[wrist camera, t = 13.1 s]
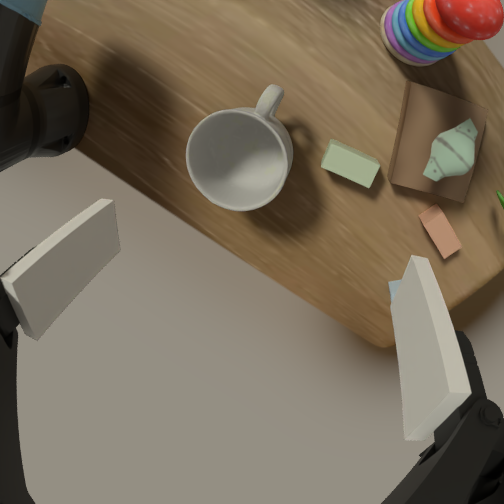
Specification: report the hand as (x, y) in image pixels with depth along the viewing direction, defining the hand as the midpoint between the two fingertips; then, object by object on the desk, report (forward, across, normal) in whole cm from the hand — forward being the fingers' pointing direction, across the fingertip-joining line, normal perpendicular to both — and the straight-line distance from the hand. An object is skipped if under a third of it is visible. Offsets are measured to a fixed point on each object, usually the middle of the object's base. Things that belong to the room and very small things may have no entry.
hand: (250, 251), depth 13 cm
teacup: (+27, -5, -1) cm, 27 cm away
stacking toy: (+27, +11, +15) cm, 33 cm away
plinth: (+27, +16, +3) cm, 31 cm away
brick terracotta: (+27, +20, -8) cm, 34 cm away
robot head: (+24, +16, +3) cm, 29 cm away
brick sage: (+27, +6, -2) cm, 28 cm away
